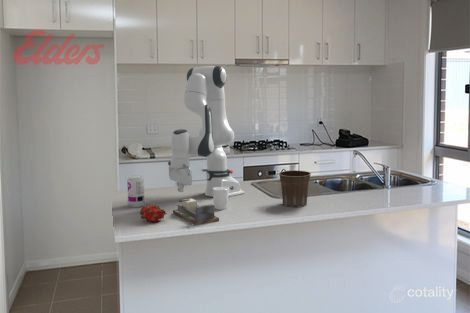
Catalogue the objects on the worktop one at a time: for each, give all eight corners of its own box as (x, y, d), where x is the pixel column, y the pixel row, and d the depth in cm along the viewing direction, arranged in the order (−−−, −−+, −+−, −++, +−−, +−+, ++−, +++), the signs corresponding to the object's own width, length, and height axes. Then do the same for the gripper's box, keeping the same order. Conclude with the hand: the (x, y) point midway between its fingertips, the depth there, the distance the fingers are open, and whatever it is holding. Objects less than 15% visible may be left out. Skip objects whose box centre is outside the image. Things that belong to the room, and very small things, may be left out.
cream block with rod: (191, 208, 227) (191, 197, 226) (197, 211, 222) (196, 199, 221) (177, 210, 223) (176, 199, 222) (182, 213, 218) (181, 202, 217)
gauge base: (195, 209, 231) (195, 194, 230) (219, 221, 211) (218, 204, 210) (173, 213, 225) (172, 197, 224) (194, 225, 205) (194, 208, 204)
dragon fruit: (138, 224, 213) (164, 227, 213) (136, 217, 205) (164, 221, 206) (141, 207, 217) (167, 210, 217) (140, 200, 209) (167, 203, 210)
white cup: (220, 205, 240) (220, 186, 238) (232, 207, 235) (231, 188, 233) (209, 208, 234) (209, 188, 232) (221, 210, 229) (221, 190, 227)
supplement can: (128, 208, 236) (127, 178, 234) (128, 204, 244) (126, 176, 242) (145, 207, 238) (144, 177, 236) (144, 203, 246) (142, 175, 244)
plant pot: (299, 210, 228) (299, 177, 226) (272, 205, 239) (272, 173, 236) (316, 203, 240) (317, 172, 238) (290, 199, 251) (290, 169, 249)
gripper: (195, 165, 220) (195, 194, 222) (178, 160, 238) (178, 187, 239) (183, 166, 217) (183, 196, 219) (166, 161, 235) (166, 188, 236)
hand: (180, 191), depth 229 cm, fingers closed
